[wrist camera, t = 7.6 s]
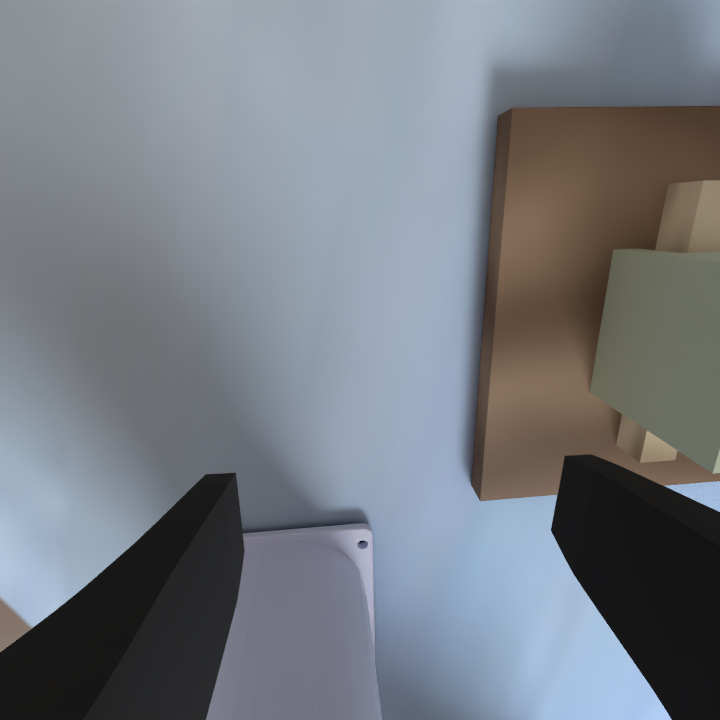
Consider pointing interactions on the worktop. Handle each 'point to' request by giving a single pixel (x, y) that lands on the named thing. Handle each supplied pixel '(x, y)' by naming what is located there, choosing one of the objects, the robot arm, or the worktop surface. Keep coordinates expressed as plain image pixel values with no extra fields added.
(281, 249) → the worktop surface
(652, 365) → the saddle block
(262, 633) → the robot arm
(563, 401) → the cleat board
